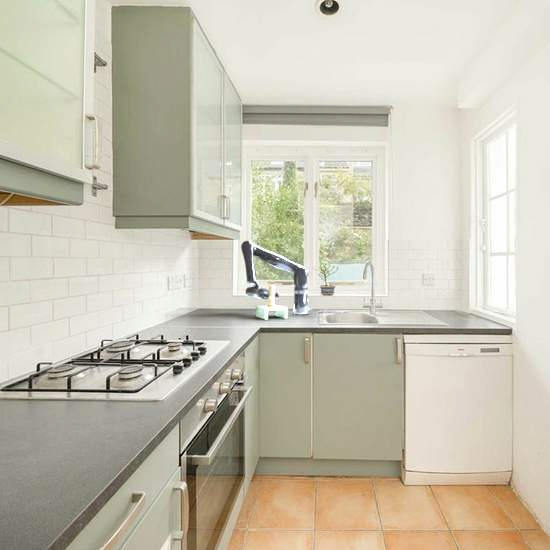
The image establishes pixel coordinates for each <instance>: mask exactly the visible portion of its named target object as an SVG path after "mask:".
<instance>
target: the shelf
mask: <svg viewBox="0 0 550 550" xmlns="http://www.w3.org/2000/svg"><path fill="white" fill-rule="evenodd" d="M275 305H276V307H268V305H255V317H256V318H258V319H262V320H269V312H270V311H272V312H273V311H275V312H274V314H275V315H274V316H275V317H279V318H282V319H288V318H289V317H288V316H289V314H288V313H289V307H288V306H283V305H279V304H275Z"/></svg>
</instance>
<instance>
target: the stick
mask: <svg viewBox="0 0 550 550" xmlns="http://www.w3.org/2000/svg"><path fill="white" fill-rule="evenodd" d="M275 286H276V285H275V284H269V285H268V289H269V298H268V304H267V306H268V307H276V305H277V304H275V302H276V301H275V298H276V297H275V292H276V291H275V289H276V287H275Z"/></svg>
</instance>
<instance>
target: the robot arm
mask: <svg viewBox="0 0 550 550" xmlns="http://www.w3.org/2000/svg"><path fill="white" fill-rule="evenodd" d="M240 249H241V253H242V256H243V261H244V266H245V267H244V268H245V275H246V276H245V277H246V282H247V284H251V285H253V286H248V287H247V288H245V295H246V296H247V297H248V298H256V299H257V298H258V299H261V300H264V301H265V300H269V288H266V287H261V286H260V284H259V282H258V278H257V277H258V276H257V271H256V270H257V269H256V266H255V262H254V258H257V259H258V260H261V261H262V262H264V263H266V264H267V265H268V266H270V267H273V268H276V269H279V270H282V271H285V272H288V273H290V274H292V275H293V287H294V288H293V289H294V290H293V308H292V311H293V314H295V315H308V314H309V311H311V312H312V313H313V314H318V313H337V314H340V313H345V312H347V313H349V311H348V310H347V309H344V310H342V311H332V310H319V311H314V310H313V309H312V308H311V306H310V303H309V299H308V292H309V291H308V289H309V288H308V286H309V285H308V276H309V273H310V271H309V268H307V267H306V266H304V265H301V264H298V263H295V262H294V261H291V260H289V259H288V258H286V257H284V256H283V255H280V254H279V253H275V252H274V251H270V250H267V249H264V248H262V247H260V246H259V245H256V244H255V243H254V242H252V241H251V240H244V241H242V243H241V245H240ZM279 297H280V292H277V291H275V298H279Z"/></svg>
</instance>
